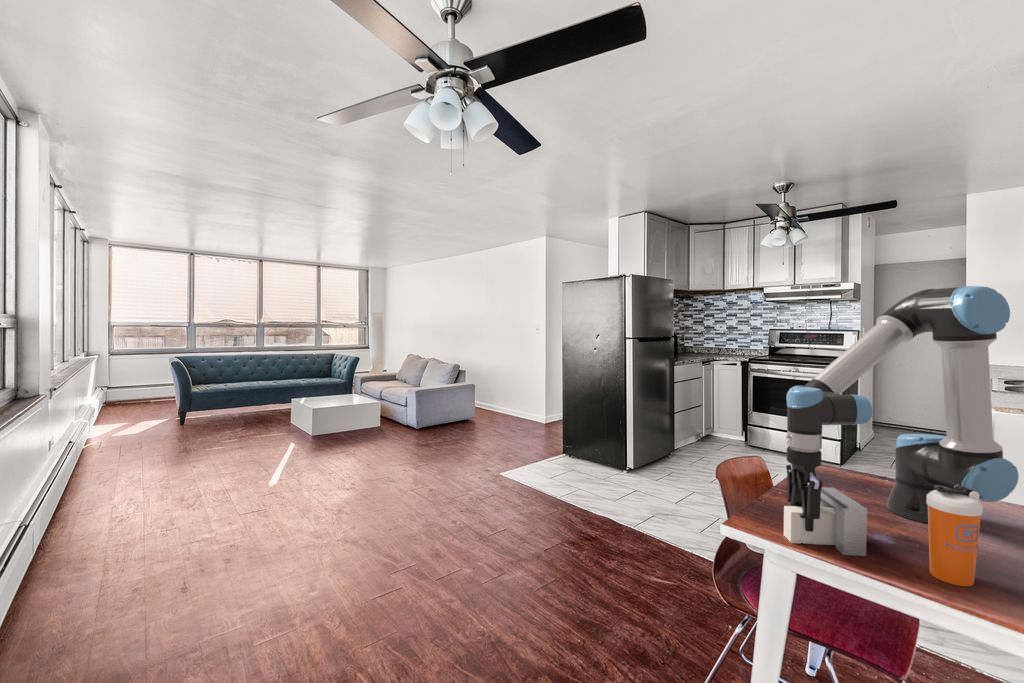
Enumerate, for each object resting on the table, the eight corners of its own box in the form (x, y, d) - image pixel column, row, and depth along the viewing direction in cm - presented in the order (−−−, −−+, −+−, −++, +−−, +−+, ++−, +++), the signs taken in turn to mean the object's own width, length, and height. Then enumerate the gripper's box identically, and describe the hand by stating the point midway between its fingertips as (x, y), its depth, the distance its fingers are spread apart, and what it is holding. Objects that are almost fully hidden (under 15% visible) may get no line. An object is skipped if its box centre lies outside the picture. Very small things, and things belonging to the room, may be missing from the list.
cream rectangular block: (849, 538, 119) (849, 507, 119) (859, 546, 115) (859, 514, 115) (783, 535, 121) (783, 505, 121) (790, 543, 117) (791, 511, 117)
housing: (832, 529, 125) (833, 485, 124) (866, 556, 110) (867, 506, 110) (812, 528, 125) (813, 484, 125) (844, 555, 111) (845, 506, 110)
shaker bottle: (913, 567, 105) (915, 481, 104) (949, 565, 106) (951, 479, 105) (953, 590, 96) (956, 496, 95) (992, 588, 97) (996, 494, 96)
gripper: (773, 439, 127) (772, 522, 128) (805, 457, 110) (803, 553, 111) (802, 439, 126) (801, 523, 127) (839, 458, 109) (836, 555, 110)
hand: (802, 537), depth 119 cm, fingers closed on cream rectangular block, 4 cm apart
